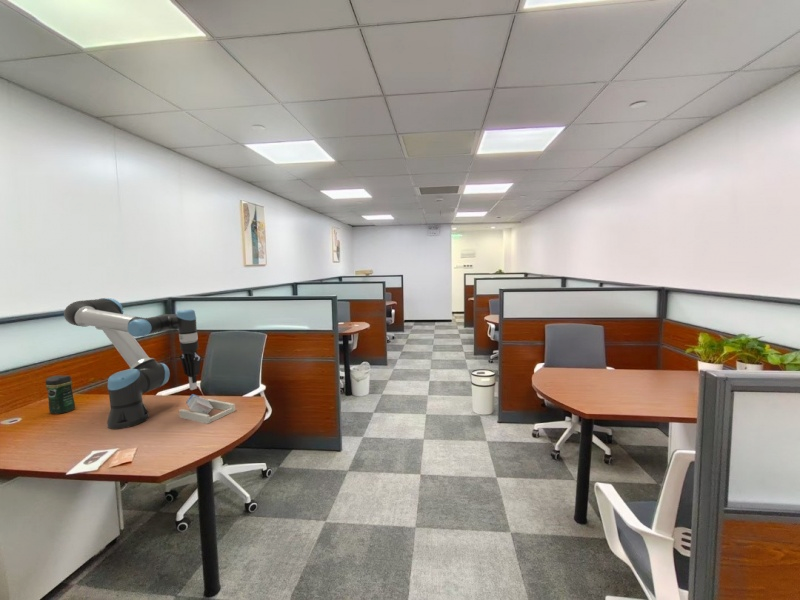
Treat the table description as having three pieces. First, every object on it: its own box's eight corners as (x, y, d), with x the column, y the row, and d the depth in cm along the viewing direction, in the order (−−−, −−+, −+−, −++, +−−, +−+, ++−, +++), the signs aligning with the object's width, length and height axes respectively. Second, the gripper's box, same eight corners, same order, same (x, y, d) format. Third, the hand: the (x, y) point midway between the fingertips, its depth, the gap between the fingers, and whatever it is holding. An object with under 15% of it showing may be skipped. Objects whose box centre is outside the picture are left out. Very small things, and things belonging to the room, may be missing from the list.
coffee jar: (79, 408, 177) (74, 373, 175) (61, 414, 169) (56, 378, 167) (63, 407, 178) (59, 373, 177) (46, 414, 171) (40, 378, 169)
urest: (179, 417, 161) (179, 410, 161) (208, 405, 175) (208, 398, 174) (207, 423, 153) (206, 416, 153) (235, 410, 167) (234, 403, 167)
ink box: (185, 402, 166) (190, 411, 155) (192, 393, 168) (197, 401, 156) (202, 409, 171) (207, 418, 159) (208, 400, 172) (214, 408, 161)
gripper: (172, 342, 164) (177, 390, 166) (190, 344, 158) (195, 393, 161) (187, 339, 170) (192, 385, 173) (205, 340, 165) (209, 387, 167)
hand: (193, 388), depth 167 cm, fingers closed
